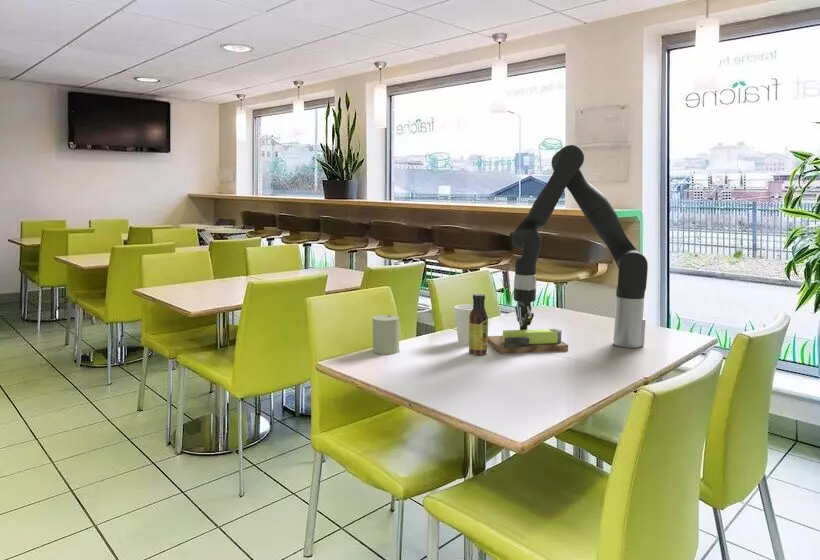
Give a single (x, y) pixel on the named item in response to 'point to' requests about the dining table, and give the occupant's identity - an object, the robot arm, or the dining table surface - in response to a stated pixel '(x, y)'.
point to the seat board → (530, 349)
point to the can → (385, 334)
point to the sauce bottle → (478, 326)
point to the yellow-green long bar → (536, 335)
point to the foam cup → (463, 322)
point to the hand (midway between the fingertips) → (523, 335)
